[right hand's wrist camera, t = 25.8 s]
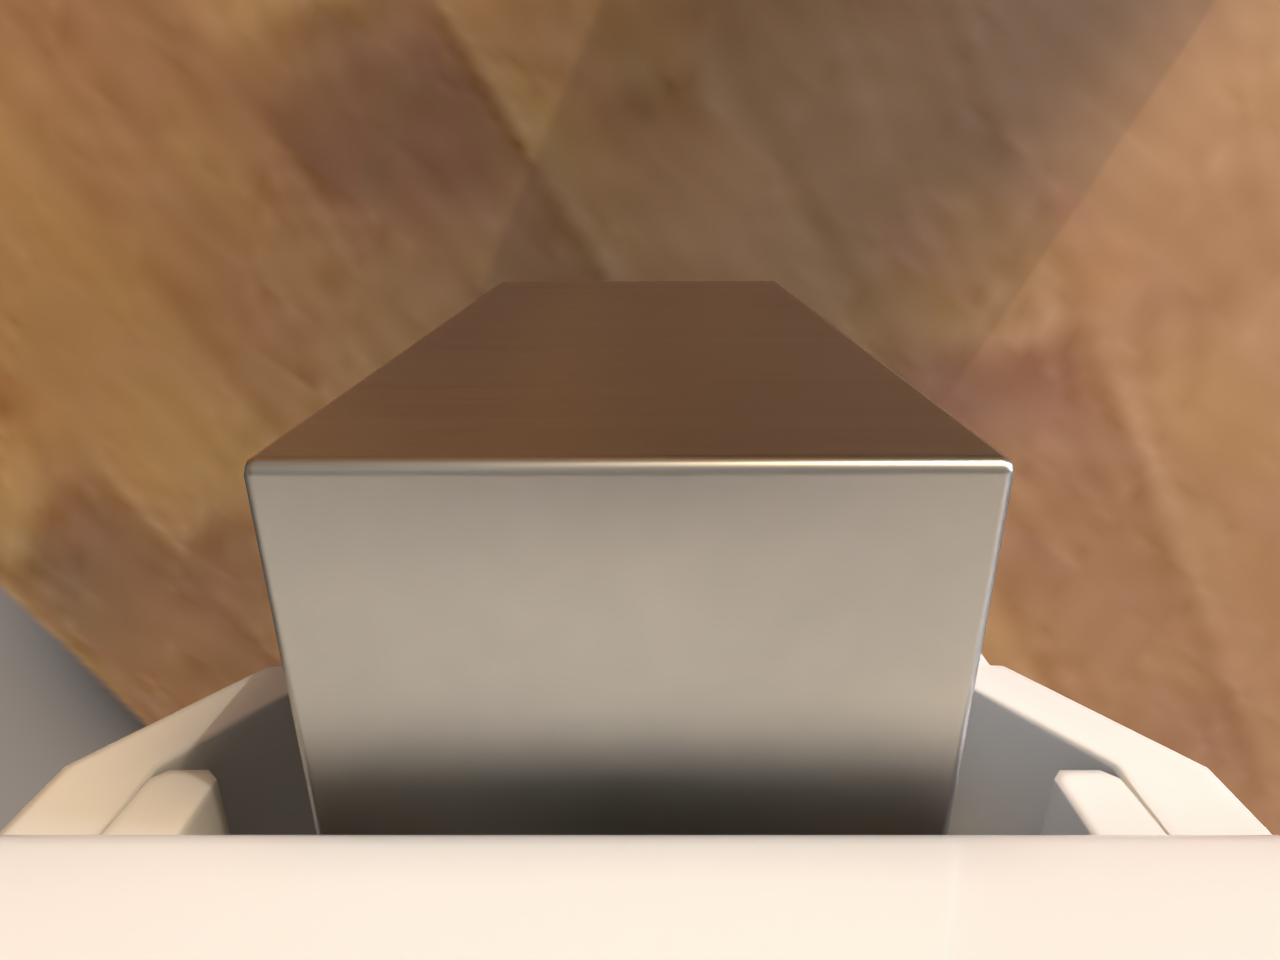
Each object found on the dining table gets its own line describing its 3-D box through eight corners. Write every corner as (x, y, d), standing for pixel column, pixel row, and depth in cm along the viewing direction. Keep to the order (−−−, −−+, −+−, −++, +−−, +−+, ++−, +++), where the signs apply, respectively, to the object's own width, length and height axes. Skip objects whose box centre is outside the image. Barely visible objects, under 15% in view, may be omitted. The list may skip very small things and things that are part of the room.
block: (526, 678, 16) (393, 1234, 8) (499, 281, 13) (234, 461, 5) (753, 678, 16) (877, 1238, 7) (777, 280, 13) (1024, 461, 5)
